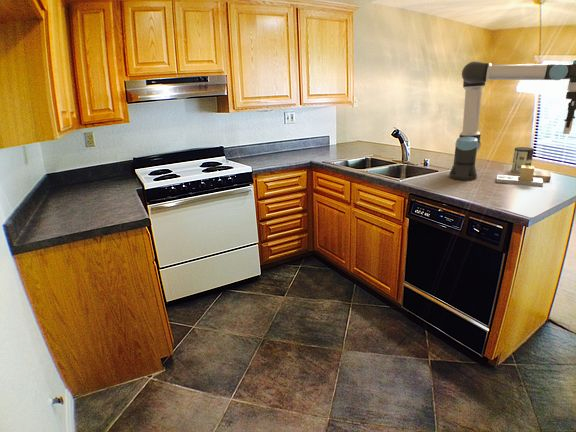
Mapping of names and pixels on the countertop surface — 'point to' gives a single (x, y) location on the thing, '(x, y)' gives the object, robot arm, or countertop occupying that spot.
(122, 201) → the countertop surface
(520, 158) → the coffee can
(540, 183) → the beige panel with cutout
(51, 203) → the countertop surface
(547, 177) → the pedestal
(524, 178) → the cube with dome knob
